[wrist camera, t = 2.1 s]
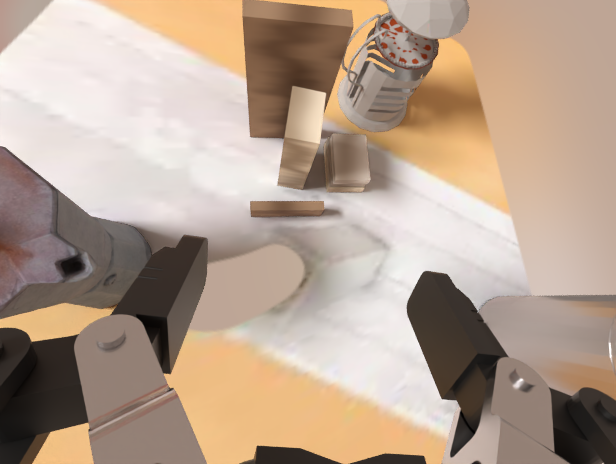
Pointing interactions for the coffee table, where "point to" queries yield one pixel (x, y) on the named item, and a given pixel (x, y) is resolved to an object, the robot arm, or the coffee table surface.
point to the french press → (397, 59)
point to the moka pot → (59, 247)
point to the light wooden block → (301, 136)
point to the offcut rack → (289, 72)
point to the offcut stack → (346, 163)
